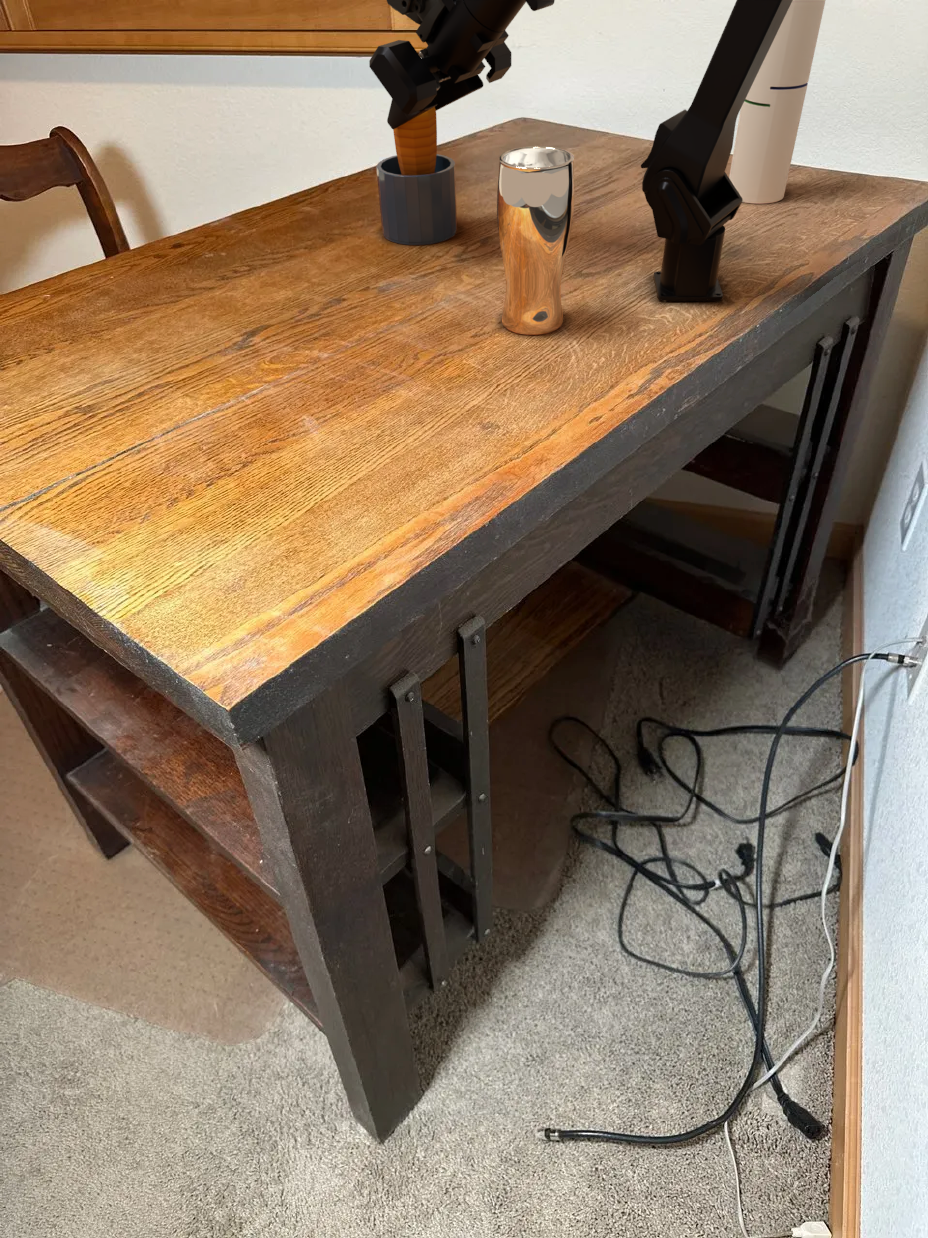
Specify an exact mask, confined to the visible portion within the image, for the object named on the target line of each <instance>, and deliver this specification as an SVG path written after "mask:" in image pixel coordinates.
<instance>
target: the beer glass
mask: <svg viewBox="0 0 928 1238" xmlns="http://www.w3.org/2000/svg"><path fill="white" fill-rule="evenodd" d="M498 158H499V160H498V176H497V177H498V178H497V194H496V197H497V198H496V215H497V216H496V222H497V230H498V231H497V232H498V239H499V245H500V251H501V257H502V263H503V270H504V276H505V277H504V278H505V296H504V297H505V298H504V304H503V308H502V313H501V314H502V315H501V323H502V326H503V327H504V328H505V329H506V330H508V331H510V332H512V333H515V334H519V335H525V336H526V335H527V336H538V335H545V334H549V333H552V332H555V331H557V330H558V329H559V328H561V327H562V325H563V323H564V313H563V306H562V298H561V297H562V294H561V293H562V292H561V291H562V290H561V289H562V288H561V287H562V286H561V285H562V277H563V272H564V266H565V262H566V258H567V254H568V248H569V246H570V245H569V244H570V239H571V235H572V234H571V233H572V228H573V223H574V211H575V155H574V154H573V153H572V152H571V151H569V150H566V149H563V148H560V147H554V146H546V145H545V146H543V145H534V146H533V145H531V146H522V147H515V148H512V149H509V150H507V151H504V152H503V153H501V154H500V156H499V157H498Z"/></svg>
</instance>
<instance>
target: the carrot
mask: <svg viewBox="0 0 928 1238" xmlns="http://www.w3.org/2000/svg"><path fill="white" fill-rule="evenodd" d="M437 126H438V125H437V111H436V109H435V107H433V108H432V109H430V110H428V111H426V112H424V113H422V114H421V115H419V116H417V117H415V118H414V119H412V120H410V121H408V122H406V123H405V124H403V125H401V126H399V127H397V128H396V129H392V130H393V139H394V146H395V153H396V155H397V158H398V162H399V166H400V170H401V174H402V175H425V174H431V173H435V165H436V155H437V154H438V127H437Z"/></svg>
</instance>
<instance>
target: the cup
mask: <svg viewBox="0 0 928 1238" xmlns="http://www.w3.org/2000/svg"><path fill="white" fill-rule="evenodd" d="M456 176H457V175H456V162H455V160H454V159H453V158H451V157H449V156H447V155H444V154H440V153H437V155H436V165H435V173H431V174H425V175H402V174H401V170H400V166H399V162H398V158H397V154H396V155H392V156H389V157H386V158H384V159H382V160H380V161H378V162H377V164H376V177H377V189H378V190H377V191H378V200H379V213H380V223H381V224H380V225H381V231H382V235H383V237H384V238H385V239H386V240H388V241H390V242H392V243H395V244H399V245H405V246H426V245H432V244H438V243H442V242H444V241H447V240H449V239H451V238H453V237H454V236H455V235H456V234H457V232H458V212H457V211H458V210H457V209H458V208H457V180H456V179H457V178H456Z"/></svg>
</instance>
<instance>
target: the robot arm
mask: <svg viewBox="0 0 928 1238" xmlns="http://www.w3.org/2000/svg"><path fill="white" fill-rule="evenodd" d="M555 1H556V0H386V3H387V5H388V6H390V7H391V8H392V9H393V10H394V11H396V12H398V13H399V14H401V15H402V16H406V17H407V18H409V19H410V20H411V21H413V22H414V23H415V24H418V25H419V26H418V28H417V29H416V31H415V34H416V35H417V37H418V38H419V39H420V41H421V42H422V43H423V44H424V43H425V44H427V46H426V47H425V48H422V49H420V50H419V51H417V50H416V49H415V47H414V46H413V45H412V43H411V41H410V40H401V39H398V40H393V41H391V42H388V43H384V44H381V45H378V46H377V48H375V50H374V52H373V54H372V56H371V57H370V59H369V61H368V62H369V63H368V64H369V68H370V70H371V71H372V73H373V74H374V75H375V77H376V78H377V80H378V81H379V82H380V83H381V85H382V86H383V88H384V89H385V91H386V92H387V94H388V95H389V97H390V98H391V102H390V106H389V110H388V114H387V119H386V122H387V124H388V126H389V127H390V129H392V130H393V129H396V128H397V127H399V126H401V125H403V124H405V123H406V122H408V121H410V120H412V119H414V118H415V117H417V116H419V115H421V114H422V113H424V112H426V111H428V110H430V109H432V108H433V107H435V109H436V112H437V111H438V110H441V109H442V108H444V107H446V106H449V105H450V104H452V103H455V102H457V101H458V100H460V99H462V98H464V97H466V96H468V95H470V94H473V93H474V92H477V91H478V90H481V89H482V88H483V87H484V82H483V80H482V79H481V76H479V75H481V73H482V72H483V71H484V69H485V68H486V67H487V66H486V65H485V62H483V61H484V60H485V61H486V63H487V64H488V66H489V68H490V69H489V71H487V73H486V75H485V78H486V81H487V82H488V84H491V83H493V82H496V81H499V80H501V79H503V77H505V75H506V73H507V72H508V71H509V70H510V68H511V67H512V51H511V49H510V48H509V47H508V45H507V44H506V40H507V39H508V38H509V36H510V35H509V34H508V32H507V30H506V29H507V28H508V27H509V26H510V24H511V23H512V22H513V21H514V19H515V18H516V16H517V15H518V14H519V13H520V11H521V10H522V8H523V7H524V6H525V4H527V5H528V7H529V8H530V10H531V11H532V12H536V11H540V10H542V9H546V8H548V7H551V6H553V5H554V4H555ZM792 1H793V0H736V1H735V3H734V6H733V8H732V10H731V13H730V15H729V17H728V20H727V22H726V24H725V26H724V29H723V31H722V33H721V36H720V38H719V40H718V42H717V45H716V46H715V49H714V52H713V53H712V56H711V58H710V61H709V63H708V65H707V67H706V70H705V72H704V74H703V77H702V79H701V82H700V83H699V85H698V89H697V91H696V93H695V96H694V98H693V99H692V102H691V104H690V106H689V108H688V109H683V110H681V111H680V112H678V113H676V114H674V115H673V116H671V117H669V118H667V119H666V120H664V121H662V122H661V123H659V125H658V127H657V129H656V131H655V135H654V138H653V142H652V146H651V150H650V152H649V154H648V155H647V158H646V159H645V160H643V162H642V163H641V164H640V168H641V169H646V170H645V172H644V174H643V177H642V178H643V179H642V181H641V182H642V184H641V185H642V186H641V191H642V193H643V195H644V197H645V200H646V202H647V204H648V205H649V207H650V209H651V210H652V215H653V216H652V217H653V221H654V225H655V231H656V236H657V237H658V238H660V239H664V247H663V253H662V262H661V269H660V271H654V272H653V283H654V287H655V292H656V296H657V299H658V300H659V301H663V302H664V301H669V302H670V301H672V302H673V301H677V302H678V301H680V302H681V301H687V302H689V301H692V302H693V301H694V302H695V301H697V302H699V301H700V302H702V301H703V302H706V301H708V302H712V301H713V302H718V301H719V302H720V301H723V298H724V293H723V290H722V288H721V285H720V281H719V279H718V274H719V268H720V263H721V258H722V252H723V245H724V240H725V234H726V227H725V224H727V223H728V222H729V221H731V220H733V219H734V218H735V216H736V214H737V213H738V211H739V209H740V207H741V206H742V203H743V202H742V201H743V200H742V197H741V196H740V194H739V193H738V191H737V190H736V188H735V186H734V185H733V183H732V182H731V180H730V179H729V176H728V174H727V173H726V170H727V167H728V162H729V161H730V160H729V159H730V157H731V153H732V150H733V146H734V145H733V144H734V138H735V131H736V130H735V129H736V123H737V118H738V116H739V114H740V110H741V107H742V105H743V103H744V101H745V99H746V97H747V95H748V92H749V90H750V88H751V86H752V84H753V82H754V80H755V78H756V76H757V74H758V72H759V69H760V67H761V65H762V63H763V61H764V59H765V57H766V55H767V53H768V51H769V49H770V47H771V44H772V42H773V40H774V38H775V36H776V34H777V32H778V30H779V28H780V26H781V24H782V22H783V19H784V17H785V15H786V13H787V11H788V9H789V7H790V5H791V3H792Z"/></svg>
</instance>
